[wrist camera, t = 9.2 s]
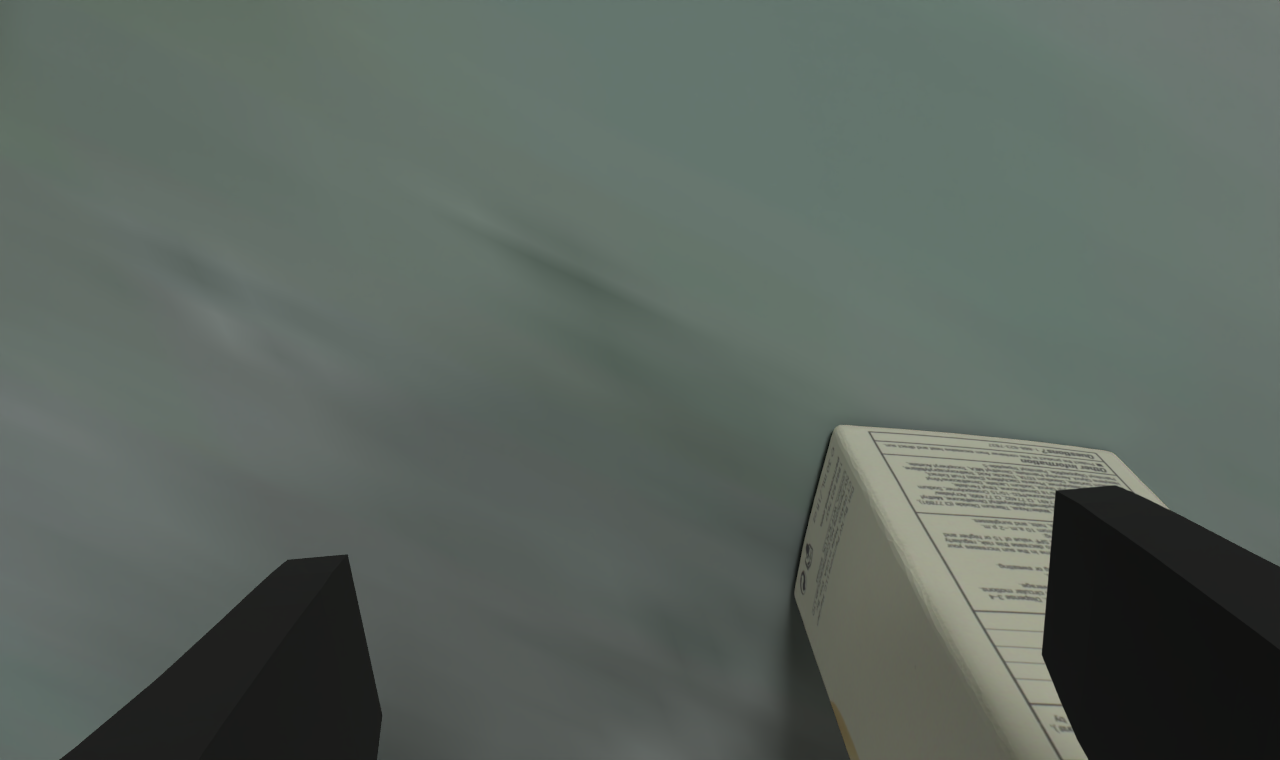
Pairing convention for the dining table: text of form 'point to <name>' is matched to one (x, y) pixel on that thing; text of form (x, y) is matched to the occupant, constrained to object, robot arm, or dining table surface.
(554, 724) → the dining table surface
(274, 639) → the robot arm
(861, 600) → the skincare box
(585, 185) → the dining table surface
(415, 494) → the dining table surface
